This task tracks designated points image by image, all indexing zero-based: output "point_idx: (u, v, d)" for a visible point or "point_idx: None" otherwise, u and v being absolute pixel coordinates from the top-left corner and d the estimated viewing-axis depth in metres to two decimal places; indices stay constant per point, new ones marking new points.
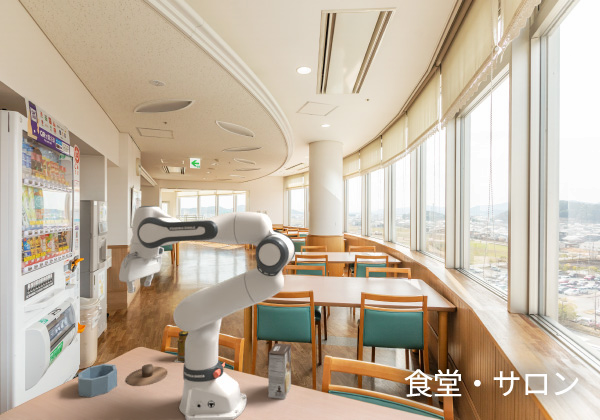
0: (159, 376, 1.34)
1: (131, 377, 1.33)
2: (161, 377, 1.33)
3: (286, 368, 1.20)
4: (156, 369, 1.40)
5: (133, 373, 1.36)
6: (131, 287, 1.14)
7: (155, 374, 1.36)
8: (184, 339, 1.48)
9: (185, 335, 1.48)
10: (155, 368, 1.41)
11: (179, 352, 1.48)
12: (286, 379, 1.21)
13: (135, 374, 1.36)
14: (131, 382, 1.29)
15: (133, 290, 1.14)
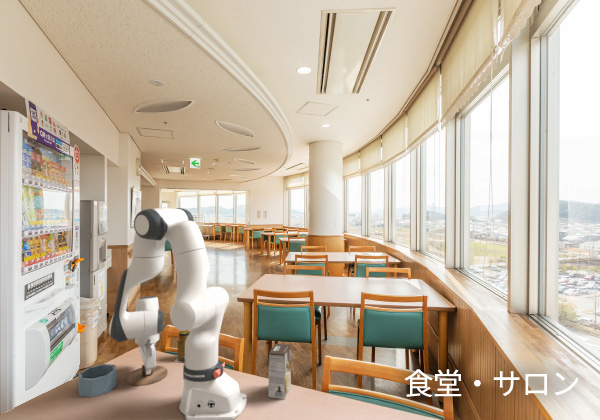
0: (159, 375, 1.34)
1: (131, 376, 1.33)
2: (161, 376, 1.33)
3: (286, 368, 1.20)
4: (156, 368, 1.40)
5: (133, 372, 1.36)
6: (149, 369, 1.32)
7: (155, 373, 1.36)
8: (184, 339, 1.48)
9: (185, 335, 1.48)
10: (155, 367, 1.40)
11: (179, 352, 1.48)
12: (286, 379, 1.21)
13: (135, 373, 1.36)
14: (131, 381, 1.29)
15: (150, 371, 1.33)
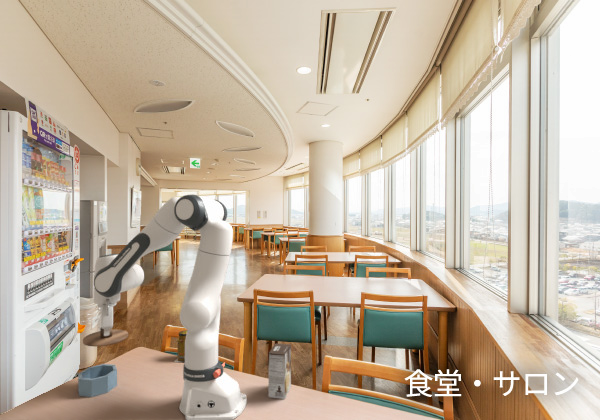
0: (118, 337, 1.27)
1: (88, 337, 1.26)
2: (120, 338, 1.26)
3: (286, 368, 1.20)
4: (117, 331, 1.33)
5: (92, 334, 1.29)
6: (108, 330, 1.25)
7: (115, 335, 1.29)
8: (184, 339, 1.48)
9: (185, 335, 1.48)
10: (116, 331, 1.33)
11: (179, 352, 1.48)
12: (286, 379, 1.21)
13: (94, 335, 1.29)
14: (87, 342, 1.22)
15: None
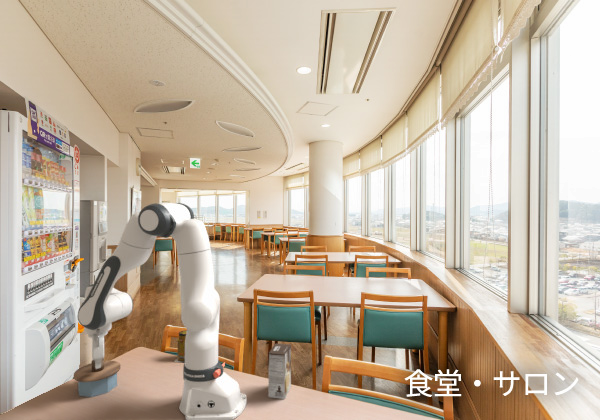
0: (110, 370, 1.25)
1: (79, 372, 1.24)
2: (112, 371, 1.24)
3: (286, 368, 1.20)
4: (109, 363, 1.31)
5: (83, 367, 1.27)
6: (99, 363, 1.21)
7: (107, 368, 1.27)
8: (184, 339, 1.48)
9: (185, 335, 1.48)
10: (108, 362, 1.31)
11: (179, 352, 1.48)
12: (286, 379, 1.21)
13: (85, 368, 1.27)
14: (78, 377, 1.20)
15: (100, 365, 1.22)
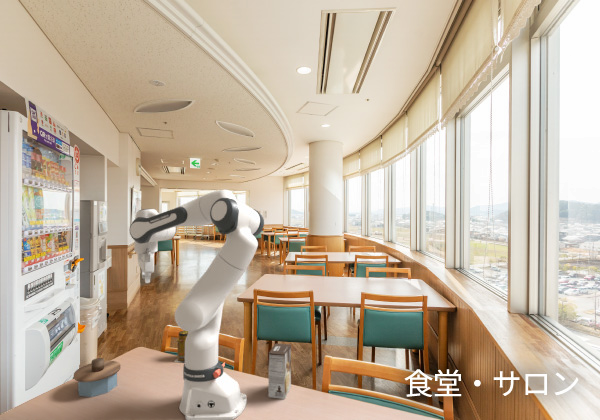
0: (110, 370, 1.25)
1: (79, 372, 1.24)
2: (112, 371, 1.24)
3: (286, 368, 1.20)
4: (109, 363, 1.31)
5: (83, 367, 1.27)
6: (148, 278, 1.36)
7: (107, 368, 1.27)
8: (184, 339, 1.48)
9: (185, 335, 1.48)
10: (108, 362, 1.31)
11: (179, 352, 1.48)
12: (286, 379, 1.21)
13: (85, 368, 1.27)
14: (78, 377, 1.20)
15: (149, 280, 1.36)
